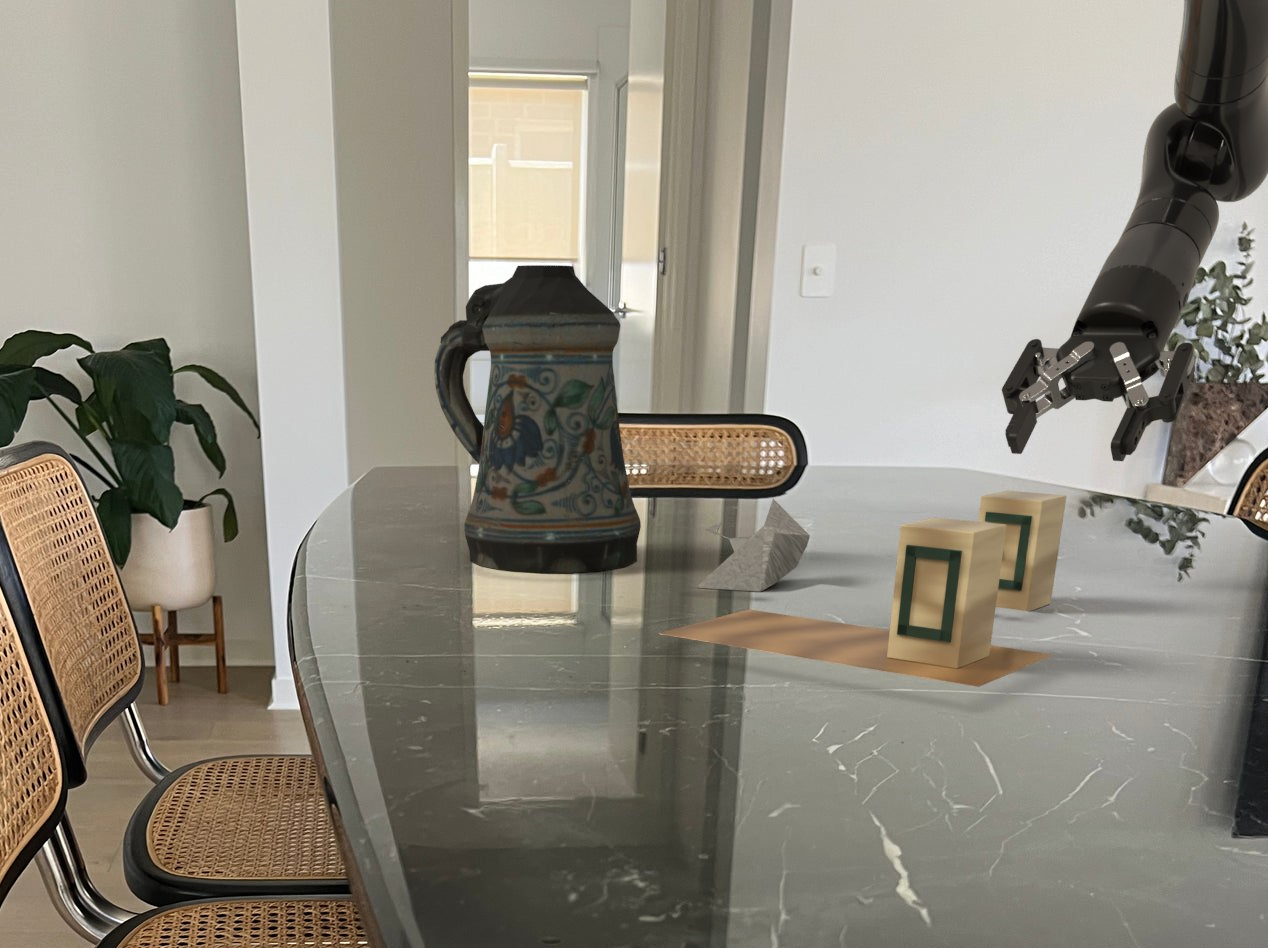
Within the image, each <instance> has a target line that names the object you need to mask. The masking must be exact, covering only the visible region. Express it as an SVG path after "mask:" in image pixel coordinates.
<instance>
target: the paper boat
mask: <svg viewBox="0 0 1268 948" xmlns="http://www.w3.org/2000/svg"><path fill="white" fill-rule="evenodd" d="M721 525H722V522H719V523H716V524H714V525H711V526H709V527H705V531H707V532H708V531H709V532H710V533H713V534H714V535H717V536H720V537H722V538H724V539H726V540H729V543H730V546H731V548H732V550H733V553H732V554H731V555H730V556H728V557H727V558H726V559H725V560H724V561H723V562H722V563H720V564H719V566H717V567H716V568H715V569H714V570H713V571H712V572H710V573H709V574H708V575H707V576H706V577H705V578H704V579H703V580H701V581H700V582H699V583H697V585H696V586H695V587H694V588H696V589H710V590H711V589H713V590H726V591H727V590H729V591H741V592H742V591H743V592H744V591H745V592H760V593H761V592H763V591H765V590H766V589H768V588H769V587H771V586H773V585H775V584H777V583H778V582H779V581H780V580H782V579H783V578H784V577H786V576H787V575H788V574H790V573H791V572H792V571H794V570H795V569H796V568H797V566H798V565H799V563H800V561H801V559H802V557H803V555H804V553H805V552H806V549H807V547H808V543H809V540H810V537H811V535H810V534H809V533H808V531H806V530H805V529H804V528H803V527H802V525H800V524H799V523H798V522H797V521H796V520H795V519H794V518H793V517H792V515H790V514H789V513H788V512H787V511H786V510H785V508H783V507H782V506H781V504H779V502H777V501H776V500H775V499H774V498H772V501H771V503H770V507H769V509H768V512H767V515H766V518H765V521H764V523H763V526H762V527H761V528H760V529H758V531H756V532H755V533H754V534H753V535H747V536H740V537H739V536H738V537H731V538H730V537H728V536H725V535H724V534H721V533H718V532H719V529H720V527H721Z"/></svg>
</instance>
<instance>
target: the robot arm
mask: <svg viewBox="0 0 1268 948" xmlns="http://www.w3.org/2000/svg"><path fill="white" fill-rule="evenodd" d="M1182 12H1183V13H1182V22H1181V31H1180V38H1179V44H1178V51H1177V57H1176V58H1177V60H1176V66H1175V74H1174V83H1173V96H1174V101H1175V102H1174V103H1172V104H1170V105H1168V106H1167V107H1165V108H1164V109H1163V110H1162V111H1161V112H1160V113H1159V114H1158V115H1157V116H1155V119H1154V120H1153V121H1152V123H1151V125H1150V127H1149V129H1148V132H1147V135H1146V137H1145V144H1144V147H1143V154H1142V164H1141V177H1140V184H1139V191H1138V195H1137V198H1136V202H1135V204H1134V207H1133V209H1132V212H1131V214H1130V217H1129V218H1128V221H1127V222H1126V224H1125V226H1124V229H1123V230H1122V233H1121V235H1120V236H1119V238H1118V241H1117V243H1116V245H1115V246H1114V247H1113V248H1112V250H1111V252H1110V253H1109V254H1108V256H1107V257H1106V260H1105V261H1104V263H1103V264H1102V267H1101V269H1100V271H1099V273H1098V275H1097V277H1096V279H1095V281H1094V283H1093V285H1092V288H1091V289H1090V291H1089V293H1088V295H1087V298H1086V299H1085V301H1084V304H1083V306H1082V307H1081V309H1080V311H1079V314H1078V316H1077V318H1076V320H1075V322H1074V325H1073V328H1072V331H1071V334H1070V336H1069V338H1068V339H1067V341H1065V342H1064V343H1063V344H1062V345H1061V346H1059V348H1058V347H1057V348H1055V347H1045V346H1044V347H1043V343H1042V340H1041V339H1039V338H1034V339H1031V340H1030V341H1028V342H1027V344H1026V345H1025V347H1024V349H1023V350H1022V352H1021V354H1020V356H1019V357H1018V360H1017V361H1016V363H1015V365H1014V366H1013V368H1012V370H1011V372H1010V374H1009V375H1008V377H1007V378H1006V380H1005V382H1004V384H1003V386H1002V387H1001V393H1002V397H1003V401H1004V404H1005V408H1006V413H1008V414H1009V415H1011V418H1010V420H1009V422H1008V424H1007V426H1006V428H1005V431H1004V432H1005V438H1006V442H1007V445H1008V448H1009V449H1010V453H1011V454H1014V455H1022V454H1023V452H1024V450H1025V448H1026V446H1027V444H1028V442H1029V440H1030V437H1031V436H1032V433H1033V431H1034V429H1035V428H1036V425H1037V424H1038V420H1037V419H1039V418H1040V417H1042V416H1043V415H1044V414H1046V413H1047V412H1049V411H1051V410H1052V409H1055V410H1059V409H1061V408H1063V407H1064V406H1066V405H1067V404H1068V403H1070V402H1071V401H1073V400H1074V399H1075V401H1090V400H1098V401H1101V402H1110V403H1113V402H1114V401H1115V399H1119V398H1122V400H1123V402H1124V404H1125V406H1126V409H1125V411H1124V413H1123V415H1122V417H1121V420H1120V422H1119V424H1118V426H1117V428H1116V430H1115V433H1114V435H1113V436H1112V439H1111V442H1110V452H1111V457H1112V461H1114V462H1124V460H1125V459H1126V456H1131V455H1132V454H1133V453H1134V452H1135V451H1136V450H1137V448H1138V445H1139V443H1140V441H1141V439H1142V437H1143V435H1144V433H1145V430H1146V429H1147V427H1148V426H1151V424H1152V423H1153V422H1156V421H1162V422H1163V423H1168V424H1169V423H1172V422H1174V421H1176V420H1177V419H1178V416H1179V413H1180V412H1181V408H1182V405H1183V403H1184V401H1185V398H1186V395H1187V393H1188V390H1189V388H1190V385H1191V383H1192V379H1193V377H1194V374H1195V372H1196V363H1195V355H1194V347H1193V344H1192V343H1190V342H1182V343H1180V344H1179V345H1177V347H1176V349H1175V350H1164V349H1165V347H1166V346H1167V343H1168V340H1169V339H1170V336H1171V335H1172V332H1173V330H1174V328H1175V326H1176V324H1177V322H1178V320H1179V318H1180V316H1181V313H1182V311H1183V310H1184V308H1185V307H1186V305H1187V304H1188V300H1189V297H1190V294H1191V292H1192V289H1193V286H1194V282H1195V279H1196V275H1197V273H1198V270H1199V268H1200V266H1201V263H1202V261H1203V259H1204V257H1205V255H1206V253H1207V250H1208V249H1209V246H1210V244H1211V242H1212V240H1213V238H1214V235H1215V233H1216V231H1217V228H1218V225H1219V221H1220V207H1219V205H1218V202H1220V203H1236V202H1239V201H1242V200H1244V199H1246V198H1247V197H1249V196H1251V195H1252V194H1253V193H1254V192H1255V191H1257V190H1258V189H1259V188H1260V186H1262V185H1263V183H1264V182H1265V180H1266V178H1267V176H1268V0H1183V11H1182ZM1160 369H1161V370H1163V374H1164V379H1163V382H1162V385H1161V387H1160V390H1159V393H1158V395H1155V396H1150V397H1149V395H1148V393H1147V391H1146V389H1145V387H1144V385H1143V383H1144V382H1145V381H1147V380H1148V379H1149V378H1151V377H1153V376H1154V375H1155V374H1156V373H1158V371H1159V370H1160ZM1061 379H1062V381H1063V383H1064V385H1065V387H1063V388H1062V389H1060V385H1059V382H1060V380H1061ZM1042 396H1043V397H1042ZM1040 397H1042V398H1040ZM1037 399H1039V400H1037Z"/></svg>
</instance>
